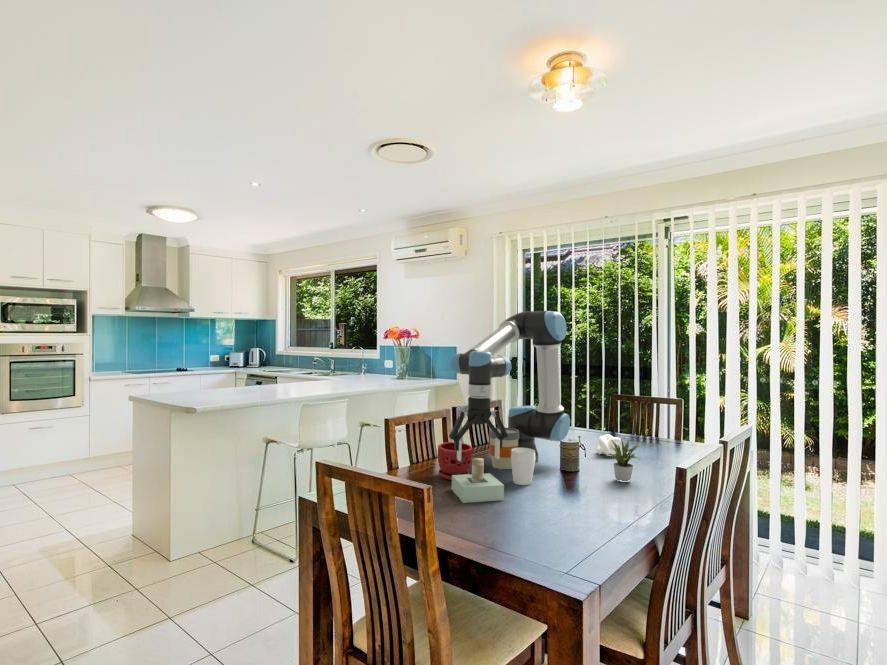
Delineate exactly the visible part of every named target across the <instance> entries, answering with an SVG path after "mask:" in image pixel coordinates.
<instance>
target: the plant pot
mask: <svg viewBox="0 0 887 665" xmlns="http://www.w3.org/2000/svg"><path fill="white" fill-rule="evenodd" d="M472 459H473V447H472V446H471V445H470V444H468V443H465V442H464V443H463V442H462V447H461V461H458V460H457V451H456V450H455V449H454V441H448V442H442V443H439V444H438V446H437V462H438V465H439V468H440V469H439V470H438V475H439V476H440V477H441V478H443V479H446V480H449V481H452V475H464V474H470V472H469V469H470V467H471V465H472Z"/></svg>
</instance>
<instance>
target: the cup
mask: <svg viewBox="0 0 887 665" xmlns="http://www.w3.org/2000/svg"><path fill="white" fill-rule="evenodd" d="M535 459H536V458H535V450H533V449H530V448H513V449H512V450H511V465H512V469H511V472H512V473H511V474H512V482H513V483H514V484H515V485H518V486H529V485H531V484H532V482H533V476H534V470H535V465H536V462H535Z"/></svg>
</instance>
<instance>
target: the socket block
mask: <svg viewBox="0 0 887 665" xmlns="http://www.w3.org/2000/svg"><path fill="white" fill-rule="evenodd" d="M452 490H453V491H452ZM451 491H452V492H453V493H454V494H455V495H456V496H457V498H458V497H459V498H458V499H459V500H460V501H461V502H462V504H465V503H466V504H467V503H483V502H496V501H497V502H499V501H504V500H505V484H503V483H502V482H501V481H500V480H499V479H497V477H495V476H494V475H493V474H492V473H491V472H489V473H484V478H483V482H482V483H472V473H471V474H470V473H469V474H464V475H452V480H451Z"/></svg>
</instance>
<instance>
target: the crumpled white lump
mask: <svg viewBox="0 0 887 665" xmlns="http://www.w3.org/2000/svg"><path fill="white" fill-rule="evenodd" d="M621 439H622V438H620V437H616V436H615V437H614V436H613V435H611V434H609V433H608V434H607V433H606V434H604V435H601V436H599V437H598V441H597V443H596V448H595V450H596V453H597V454H598V453H601V454H604V455H606V456H607V457H608V456H612V455H607V454H615V455H616V452H615V450H614V449H615V447H614V444H613V443H612V441H613V442H614V443H615V444H616V445H617V446H619V447H620V450H621V451H622V444H621V443H622V442H621ZM611 440H612V441H611ZM608 443H609V444H610V445H609V444H608ZM611 445H612V446H613V448H614V449H613V448H612V447H611Z"/></svg>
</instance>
